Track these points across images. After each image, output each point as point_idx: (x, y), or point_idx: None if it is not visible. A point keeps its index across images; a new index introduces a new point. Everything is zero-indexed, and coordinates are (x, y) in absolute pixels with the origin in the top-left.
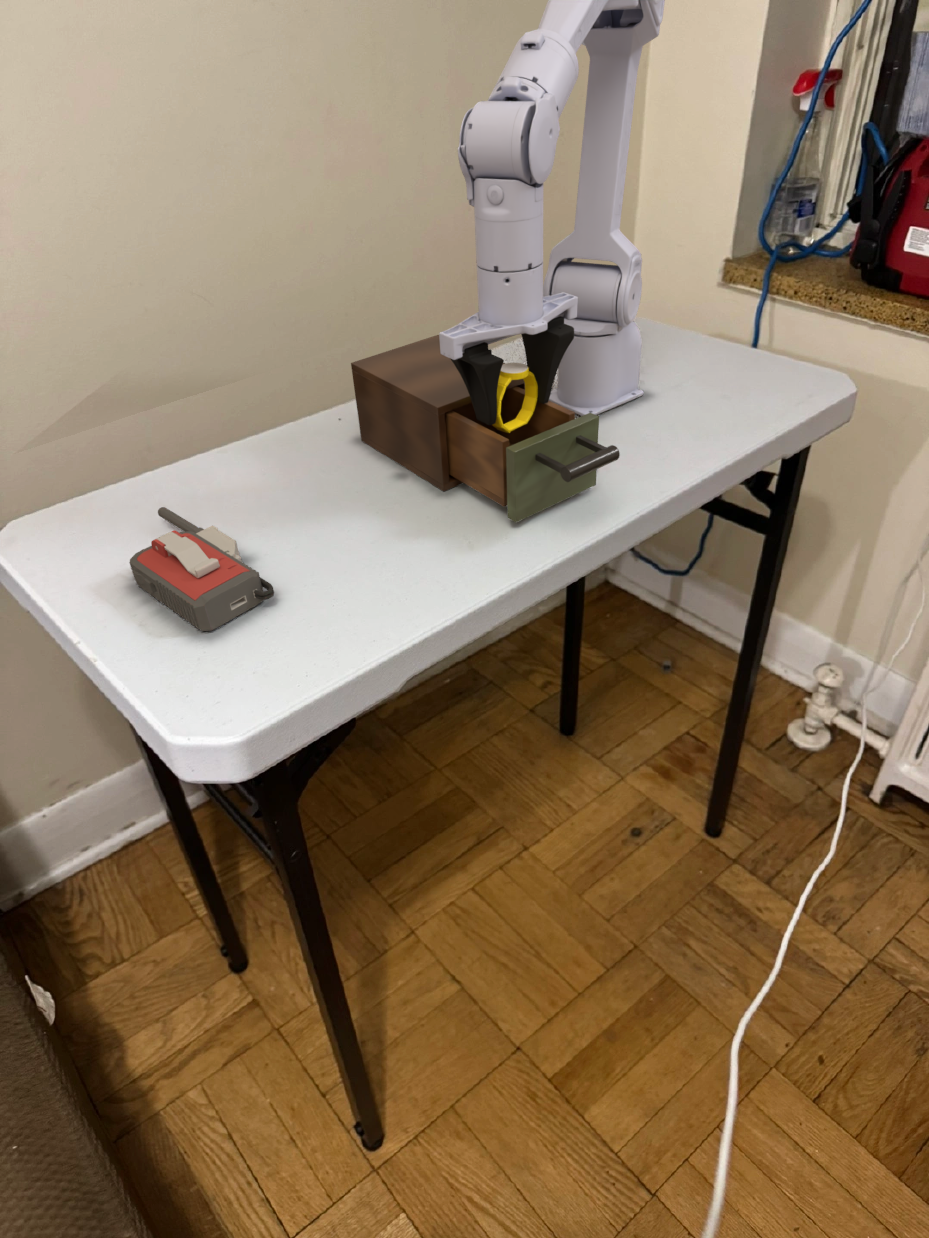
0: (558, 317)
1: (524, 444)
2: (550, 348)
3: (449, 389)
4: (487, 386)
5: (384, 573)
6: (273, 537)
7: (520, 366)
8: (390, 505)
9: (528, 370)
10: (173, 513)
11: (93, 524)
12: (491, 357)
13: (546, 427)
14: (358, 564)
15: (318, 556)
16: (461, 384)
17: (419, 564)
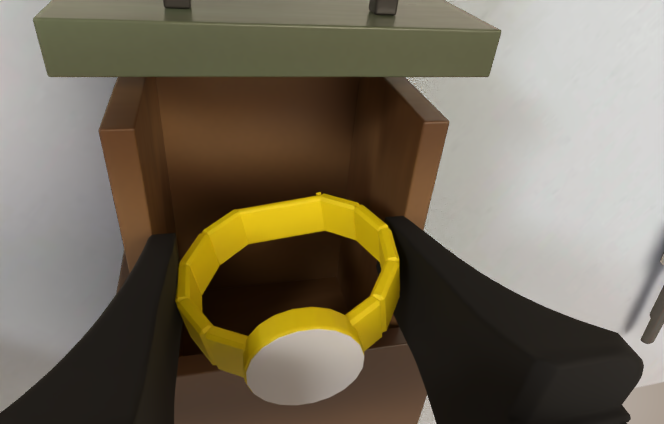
0: None
1: (440, 49)
2: (149, 405)
3: (348, 396)
4: (510, 294)
5: (638, 46)
6: (612, 237)
7: (276, 368)
8: (460, 216)
9: (264, 336)
10: (657, 327)
11: (659, 355)
12: (562, 394)
13: (157, 188)
14: (630, 101)
15: (631, 160)
16: (307, 404)
17: (591, 24)
